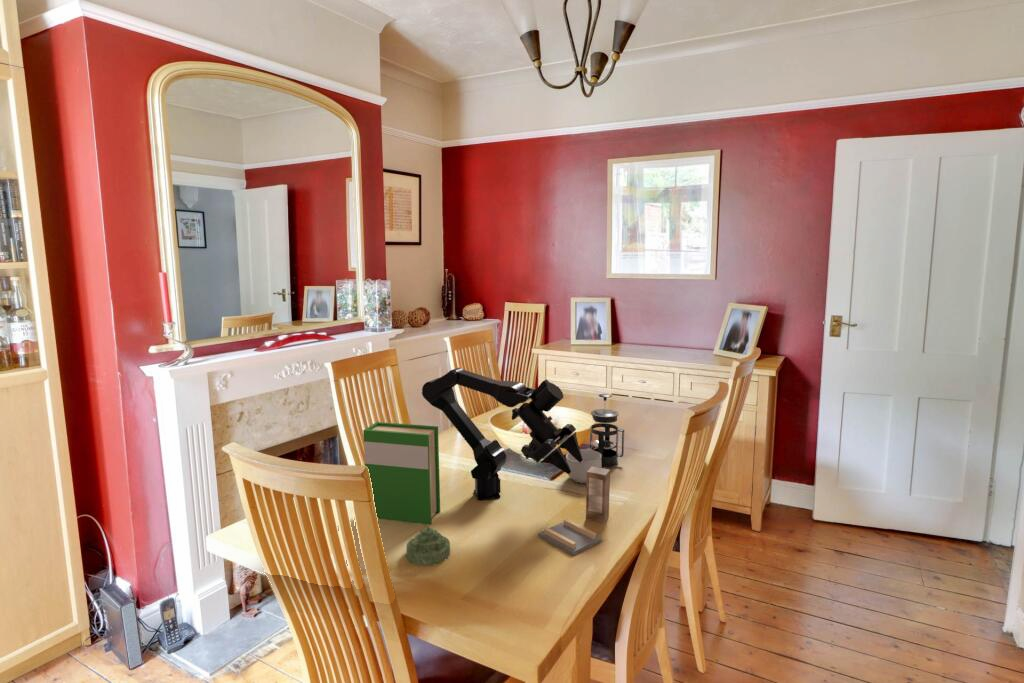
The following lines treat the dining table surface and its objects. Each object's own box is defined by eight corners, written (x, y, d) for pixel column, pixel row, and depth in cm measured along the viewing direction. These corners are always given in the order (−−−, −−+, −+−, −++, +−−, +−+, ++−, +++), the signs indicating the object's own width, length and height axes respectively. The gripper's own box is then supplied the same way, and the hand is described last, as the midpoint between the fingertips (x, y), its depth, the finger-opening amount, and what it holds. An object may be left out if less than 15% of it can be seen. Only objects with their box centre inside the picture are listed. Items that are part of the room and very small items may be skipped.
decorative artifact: (453, 544, 141) (413, 542, 142) (453, 517, 140) (412, 515, 141) (444, 567, 131) (401, 565, 132) (444, 538, 130) (400, 536, 131)
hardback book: (440, 512, 158) (438, 426, 154) (430, 524, 150) (427, 435, 146) (380, 505, 162) (376, 421, 158) (367, 517, 155) (363, 430, 151)
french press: (583, 465, 190) (585, 396, 186) (591, 455, 199) (592, 389, 195) (619, 470, 186) (621, 400, 182) (625, 460, 194) (627, 392, 191)
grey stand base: (537, 535, 144) (537, 528, 144) (566, 523, 151) (566, 516, 150) (573, 555, 135) (573, 547, 135) (601, 541, 142) (602, 533, 141)
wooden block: (585, 518, 153) (586, 471, 151) (590, 512, 157) (591, 466, 155) (604, 522, 151) (605, 475, 149) (608, 516, 155) (609, 469, 153)
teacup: (592, 489, 171) (592, 463, 170) (559, 481, 177) (559, 456, 176) (610, 473, 183) (611, 449, 182) (579, 467, 189) (579, 443, 187)
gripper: (531, 429, 169) (567, 472, 166) (503, 449, 152) (542, 497, 150) (557, 406, 164) (594, 449, 162) (530, 424, 148) (571, 472, 145)
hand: (575, 467), depth 155 cm, fingers open, 9 cm apart
